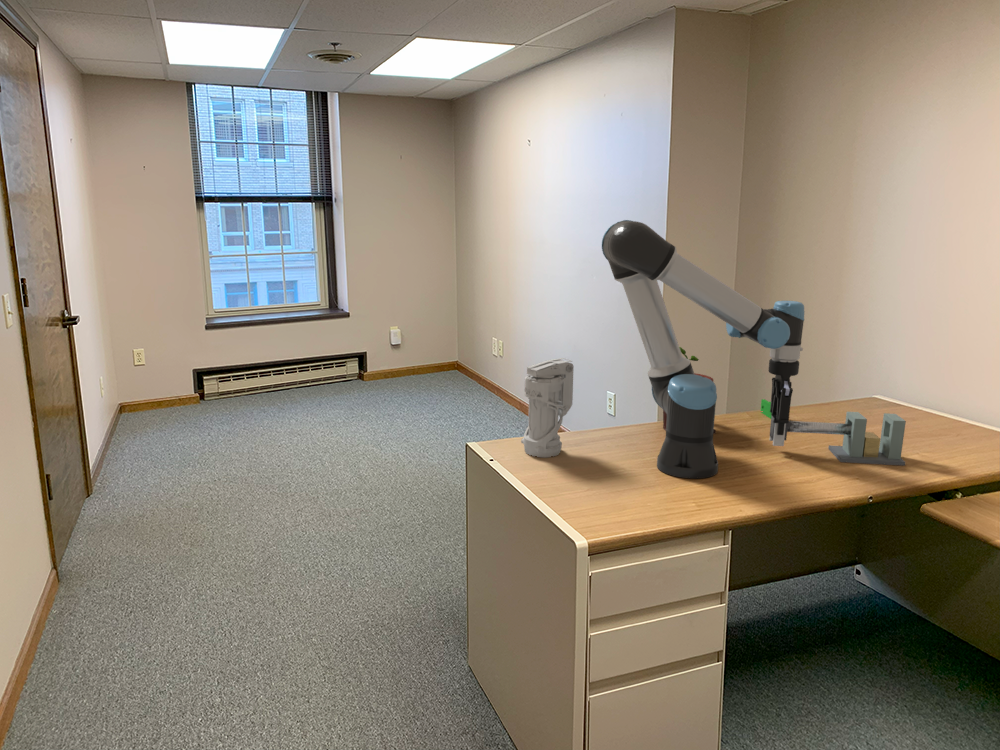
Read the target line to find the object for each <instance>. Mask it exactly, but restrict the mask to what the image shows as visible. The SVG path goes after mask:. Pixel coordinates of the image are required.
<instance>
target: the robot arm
mask: <svg viewBox="0 0 1000 750" xmlns="http://www.w3.org/2000/svg"><path fill="white" fill-rule="evenodd" d="M601 239H602V240H601V251H602V254H603V256H604V257H605V259H606V260H607V261H608V264H609V268H610V270H611V273H612V276H613V277H614V280H615V281H617V282H619V283H621V284H622V287H623V290H624V292H625V294H626V297H627V300H628V303H629V306H630V309H631V312H632V315H633V318H634V320H635V324H636V326H637V329H638V333H639V336H640V339H641V341H642V344H643V348H644V350H645V353H646V355H647V358H648V362H649V364H650V368H649V371H648V372H647V376H648V379H649V382H650V385H651V395H652V398H653V400H654V401H655V403H656V404H657V405H658V407H659V408H661V410H662V411H663V410H664V411H665V413H666V414H667V422H666V430H665V438H664V441H663V443H662V446H661V447H660V451H659V453H658V455H657V461H656V467H657V469H658V470H659V471H661V472H662V473H664V474H666V475H670V476H673V477H677V478H682V479H683V478H684V479H707V478H710V477H713V476H716V475H717V474H718V471H719V470H718V469H719V461H718V458H717V452H716V450H715V446H714V440H713V439H714V434H713V431H714V428H715V420H716V419H715V417H716V416H715V415H716V406H717V399H718V393H717V385H716V384H715V381H714V380H713V381H712V380H710V379H708V378H706V377H702V376H699V375H695V374H694V373H695V372H694V369H693V365H692V363H691V362H692V361H691V360H689V359H690V358H688V359H687V358H686V357H685V356H684V355H683V354H682V353H681V351H680V348H679V347H680V345H679V343H678V342H679V341H678V340H677V336H676V333H675V331H674V327H673V325H672V321H671V319H670V316H669V312H668V310H667V307H666V304H665V301H664V298H663V294H662V292H661V288H660V285H659V283H658V281H661V282H662V283H663V284H665V285H666V286H668V287H669V288H671V289H673V290H674V291H676V292H678V294H681V295H682V296H684V297H685V298H687V299H688V300H690V301H692V302H693V303H695V304H697V306H699V307H702V309H704V310H705V311H707V312H709V313H711V314H712V315H713V316H715V317H717V318H719V319H721V321H723V322H725V325H726V326H725V329H726V333H727V334H728V336H729V337H732V338H738V339H741V338H746V339H749V340H751V341H753V342H755V343H757V344H759V345H760V346H762V347H763V348H766V349H769V357H770V359H769V362H768V373H770V374H771V375H774V376H775V377H772V378H771V396H770V402H771V406H770V413H771V416H772V415H777V416H776V421H774V420H773V423H775V426H774V436H773V440H772V439H771V437H770V436H769V441H770V442H772V446H774V447H775V446H776V447H784V446H785V440H784V438H785V428H786V423H788V422H789V421H790V413H791V411H790V410H791V402H792V395H793V392H794V390H793V389H794V388H792V381H791V377H796V376H797V375H799V370H800V361H799V359H801V358H800V357H801V352H802V351H803V349H804V348H803V347H802V340H803V339H802V337H803V330H804V323H805V304H804V303H803V302H800V301H796V300H777V301H775V302H774V303H773V304H774V305H773V308H762V307H761V306H759V305H758V304H757V303H755V302H754V301H752V300H750V299H749V298H747V297H746V296H744V295H742V294H741V293H739V292H738V291H736V290H735V289H733V288H732V287H730V286H729V285H727V284H726V283H724V282H722V281H721V280H720V279H718V278H716V277H715V276H713V275H712V274H710V273H709V272H707V271H706V270H704V269H702V268H701V267H699V266H698V265H697V264H694V263H693V262H691V261H690V260H689V259H687V258H685V256H682V255H681V254H680V253H678V251H677V247H676V246H675V245H674V244H672V243H670V242H669V241H667V240H666V239H665V238H663V237H662V236H661V235H660V234H658V233H657V232H656V231H655V230H654V229H653V228H651V226H648V225H647V224H646V223H643V222H642V221H641V222H640V221H636V220H635V221H634V220H628V219H624V220H621V221H617V222H615V223H614V224H611V226H609V227H608V228H607V229H606V231H605V232H604V234H603V236H602V238H601Z"/></svg>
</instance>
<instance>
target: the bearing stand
mask: <svg viewBox="0 0 1000 750" xmlns="http://www.w3.org/2000/svg"><path fill="white" fill-rule="evenodd" d="M882 416H883V418H882V425H881V432H880V445H879V453H878V457H864V456H863V448H864V440H865V432H867V431H866V430H867V422H868V418H867V417H866V416H864V415H863V414H862V413H860V412H859V411H846V414H845V421H844V424H852V429H851V435H843V440H842V445H831V444H830V445H829V444H828V450H829V452H831V453H832V455H833V456H834V457H835V458H836V459H837V460H838V462H840V463H850V464H851V463H852V464H867V465H868V464H869V465H870V464H871V465H883V466H884V465H887V466H888V465H889V466H906V461H905V460H904V459H903V458H902V453H903V452H902V450H903V444H904V436H905V431H906V430H905V429H906V422H907V421H906V420H905V419H904V418H902V417H901V416H899V415H898V414H897V413H889V412H888V413H883V415H882Z"/></svg>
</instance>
